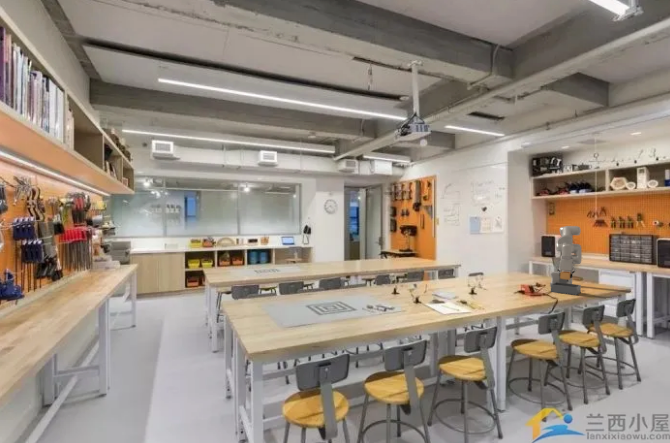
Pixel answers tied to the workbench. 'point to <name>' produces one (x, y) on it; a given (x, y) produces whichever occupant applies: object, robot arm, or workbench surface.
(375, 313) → the workbench surface
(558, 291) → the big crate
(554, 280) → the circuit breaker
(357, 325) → the workbench surface
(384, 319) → the workbench surface
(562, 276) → the small crate
